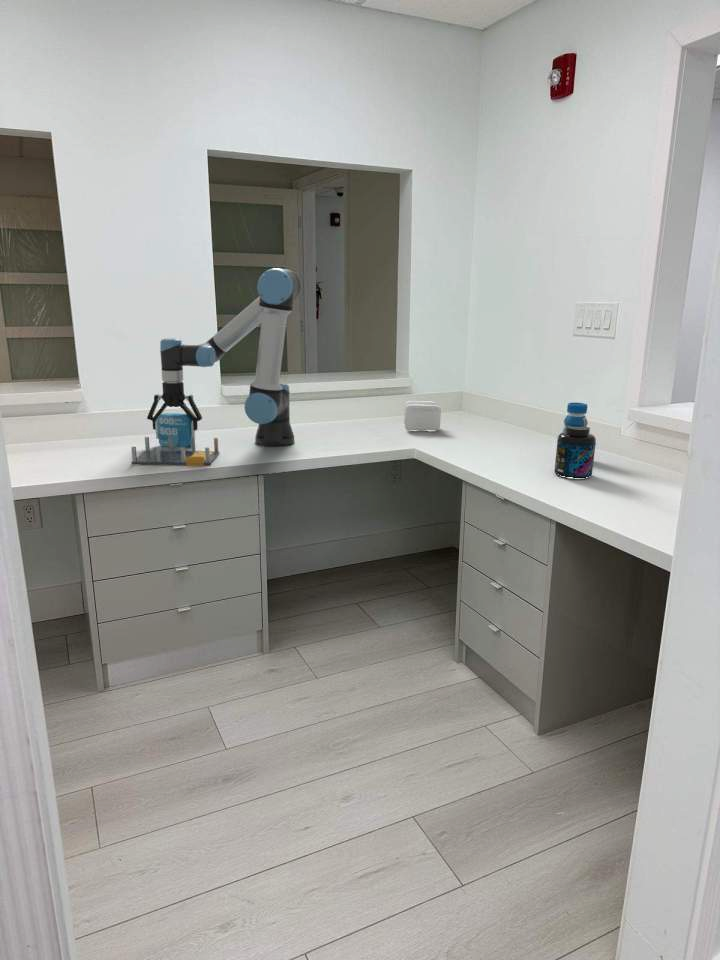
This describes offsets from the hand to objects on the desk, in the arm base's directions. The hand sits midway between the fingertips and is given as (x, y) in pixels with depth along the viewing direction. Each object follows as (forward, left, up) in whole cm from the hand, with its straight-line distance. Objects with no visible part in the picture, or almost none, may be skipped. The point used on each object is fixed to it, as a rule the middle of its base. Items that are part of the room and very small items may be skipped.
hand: (175, 438), depth 252 cm
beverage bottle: (-146, +12, -3) cm, 147 cm away
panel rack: (-5, +20, -3) cm, 21 cm away
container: (-139, +35, -3) cm, 144 cm away
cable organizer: (-96, -35, -3) cm, 102 cm away
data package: (0, 0, -3) cm, 3 cm away
